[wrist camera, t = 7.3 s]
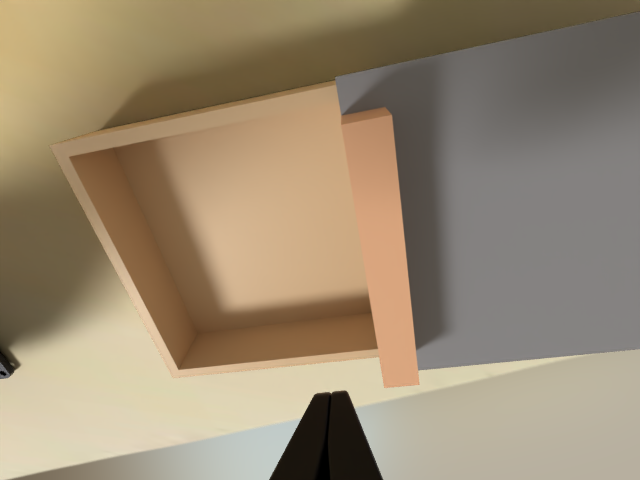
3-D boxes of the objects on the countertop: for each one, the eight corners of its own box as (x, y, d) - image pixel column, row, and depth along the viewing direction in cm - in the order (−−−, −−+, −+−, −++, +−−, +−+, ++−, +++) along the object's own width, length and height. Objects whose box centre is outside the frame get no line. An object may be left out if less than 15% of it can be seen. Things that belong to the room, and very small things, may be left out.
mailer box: (194, 337, 24) (173, 378, 21) (99, 130, 18) (48, 145, 15) (401, 312, 22) (410, 353, 19) (372, 71, 16) (379, 75, 13)
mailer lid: (382, 365, 19) (387, 406, 17) (335, 76, 13) (333, 80, 11) (681, 335, 17) (733, 377, 15) (800, -24, 11) (923, -45, 9)
